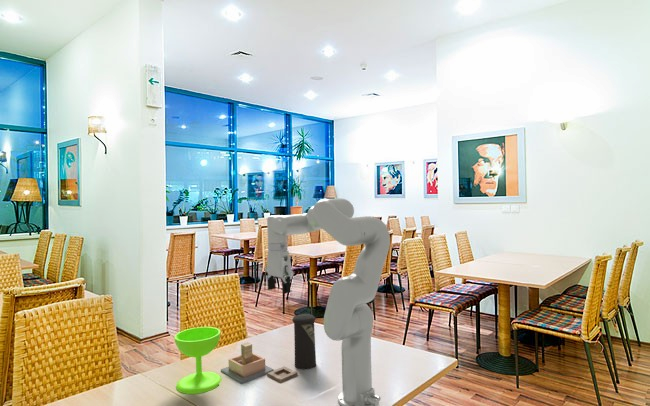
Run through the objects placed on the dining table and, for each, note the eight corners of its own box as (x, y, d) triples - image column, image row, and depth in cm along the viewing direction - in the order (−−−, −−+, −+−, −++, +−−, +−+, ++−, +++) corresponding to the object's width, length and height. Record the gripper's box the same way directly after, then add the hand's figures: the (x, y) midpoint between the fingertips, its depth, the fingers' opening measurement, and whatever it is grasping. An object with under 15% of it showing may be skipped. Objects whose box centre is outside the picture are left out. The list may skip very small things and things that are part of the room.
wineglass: (175, 378, 151) (174, 330, 151) (219, 370, 156) (218, 324, 156) (176, 397, 136) (174, 344, 136) (224, 388, 141) (223, 337, 141)
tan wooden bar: (252, 367, 154) (252, 344, 154) (245, 370, 152) (245, 346, 152) (248, 365, 156) (247, 342, 156) (241, 367, 154) (241, 344, 154)
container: (313, 371, 153) (312, 319, 153) (291, 370, 155) (289, 318, 155) (318, 362, 162) (317, 312, 162) (297, 361, 164) (295, 312, 163)
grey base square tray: (273, 372, 153) (273, 358, 153) (241, 384, 144) (241, 370, 144) (251, 361, 164) (251, 348, 164) (220, 372, 155) (220, 358, 155)
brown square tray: (297, 376, 149) (297, 372, 149) (280, 383, 144) (280, 379, 144) (284, 370, 155) (284, 366, 155) (267, 377, 150) (267, 373, 150)
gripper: (299, 247, 152) (300, 292, 152) (272, 244, 165) (273, 286, 165) (283, 249, 147) (285, 296, 147) (257, 246, 160) (258, 289, 160)
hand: (279, 291), depth 156 cm, fingers open, 9 cm apart
